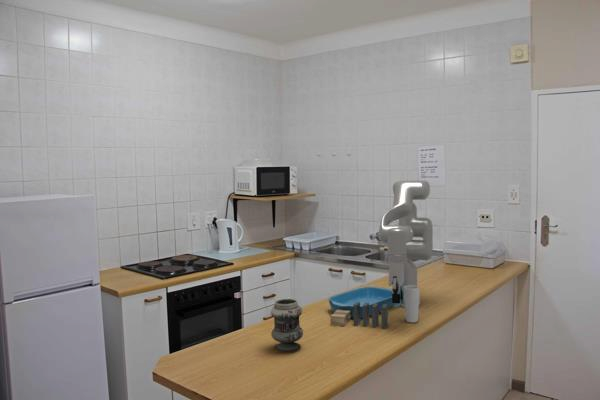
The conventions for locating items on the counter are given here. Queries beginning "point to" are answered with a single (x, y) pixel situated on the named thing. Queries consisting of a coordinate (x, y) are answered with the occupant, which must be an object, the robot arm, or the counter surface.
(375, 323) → the domino
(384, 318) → the domino
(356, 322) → the domino
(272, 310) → the apothecary jar
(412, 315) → the drinking glass
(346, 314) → the oak block
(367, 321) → the domino
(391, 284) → the robot arm
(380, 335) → the counter surface
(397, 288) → the domino teal
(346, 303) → the casserole dish
